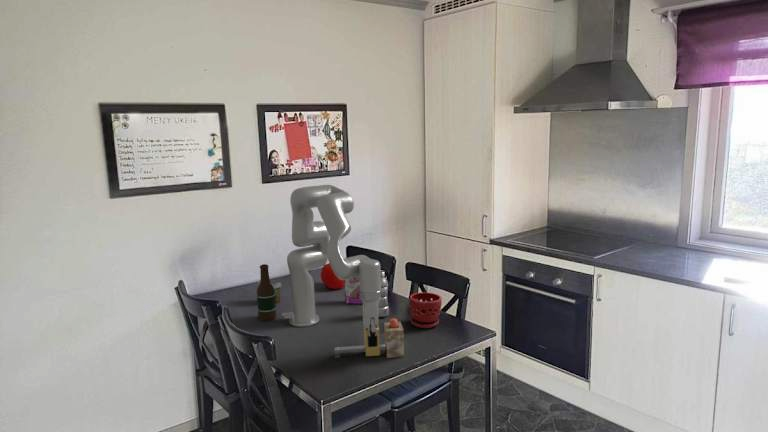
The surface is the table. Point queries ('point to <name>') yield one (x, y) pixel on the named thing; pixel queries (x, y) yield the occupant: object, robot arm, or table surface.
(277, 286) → the food container
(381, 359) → the table surface
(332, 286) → the tomato
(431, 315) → the plant pot
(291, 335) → the table surface
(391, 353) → the beige mottled box
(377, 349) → the yellow block
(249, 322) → the table surface
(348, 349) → the rail
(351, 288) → the candy bar box
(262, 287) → the beer bottle
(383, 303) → the plastic bottle
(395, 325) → the button
